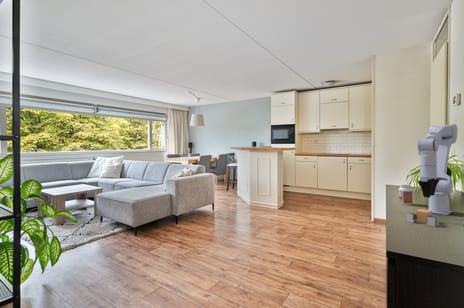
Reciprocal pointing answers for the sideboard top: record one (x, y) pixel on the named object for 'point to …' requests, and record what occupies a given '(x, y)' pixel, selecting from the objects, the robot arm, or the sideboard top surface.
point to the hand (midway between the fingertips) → (428, 196)
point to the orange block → (422, 215)
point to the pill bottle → (405, 194)
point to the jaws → (430, 220)
